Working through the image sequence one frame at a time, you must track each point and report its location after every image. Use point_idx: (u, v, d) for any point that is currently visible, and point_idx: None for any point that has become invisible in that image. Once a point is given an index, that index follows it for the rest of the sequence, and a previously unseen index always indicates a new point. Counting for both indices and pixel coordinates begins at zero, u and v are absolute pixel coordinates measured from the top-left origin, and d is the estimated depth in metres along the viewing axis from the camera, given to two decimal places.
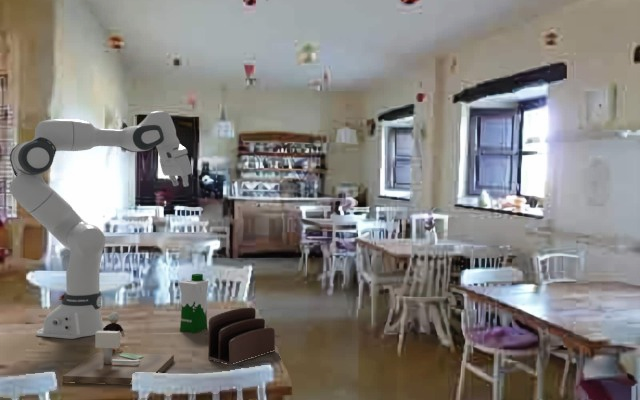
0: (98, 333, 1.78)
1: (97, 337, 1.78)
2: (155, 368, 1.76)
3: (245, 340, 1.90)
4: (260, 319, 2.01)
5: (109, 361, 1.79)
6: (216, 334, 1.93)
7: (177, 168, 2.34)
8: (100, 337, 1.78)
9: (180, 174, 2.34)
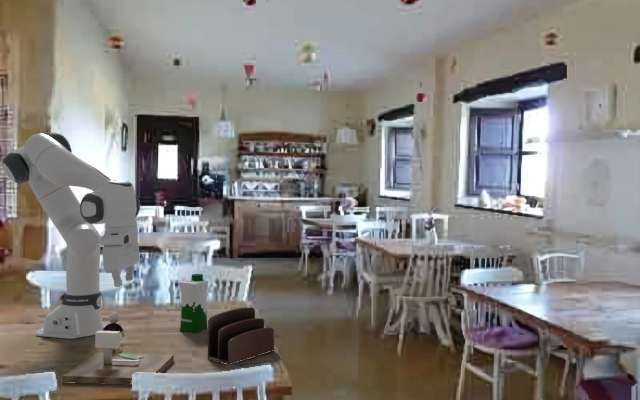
0: (98, 333, 1.78)
1: (97, 337, 1.78)
2: (155, 368, 1.76)
3: (244, 340, 1.91)
4: (259, 319, 2.02)
5: (109, 361, 1.79)
6: (215, 334, 1.93)
7: None
8: (100, 337, 1.78)
9: None
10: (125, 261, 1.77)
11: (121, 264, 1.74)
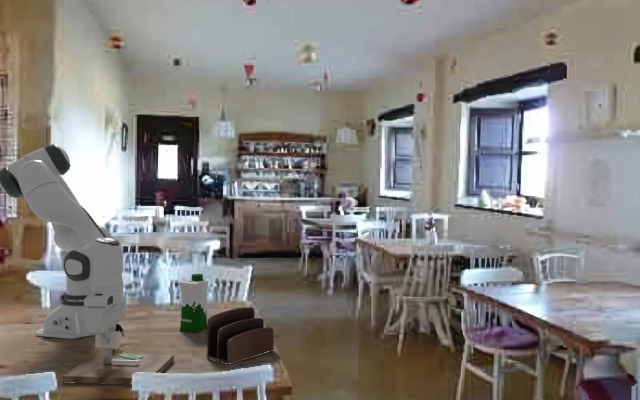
0: None
1: (97, 337, 1.78)
2: (155, 368, 1.76)
3: (244, 339, 1.91)
4: (259, 319, 2.02)
5: (109, 361, 1.79)
6: (215, 334, 1.93)
7: None
8: (100, 337, 1.78)
9: None
10: (108, 321, 1.75)
11: (104, 325, 1.72)
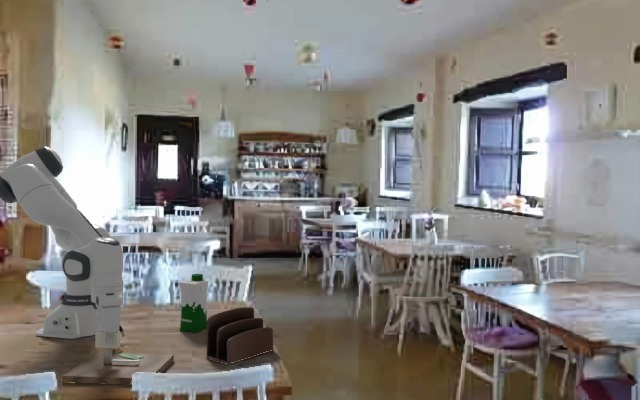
0: (98, 333, 1.78)
1: (97, 337, 1.78)
2: (155, 368, 1.76)
3: (243, 339, 1.91)
4: (258, 319, 2.02)
5: (109, 361, 1.79)
6: (214, 333, 1.94)
7: None
8: (100, 337, 1.78)
9: (104, 330, 1.72)
10: None
11: None
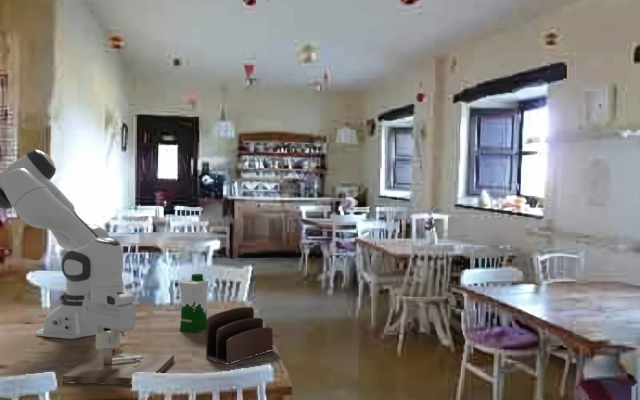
0: (99, 334, 1.77)
1: (98, 338, 1.77)
2: (155, 368, 1.76)
3: (243, 339, 1.91)
4: (258, 318, 2.02)
5: (111, 361, 1.79)
6: (214, 333, 1.94)
7: (115, 319, 1.74)
8: (102, 338, 1.78)
9: (118, 328, 1.74)
10: None
11: None
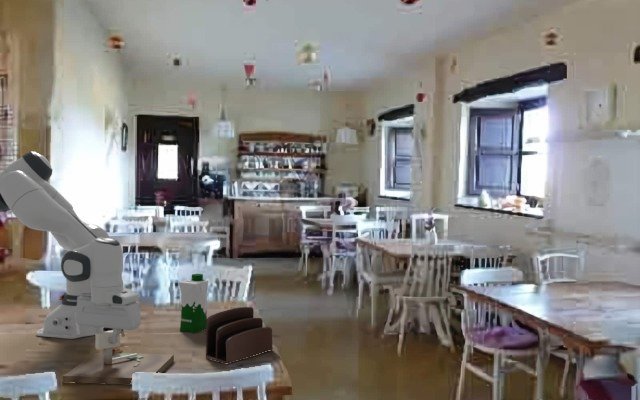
0: (101, 334, 1.77)
1: (100, 339, 1.77)
2: (155, 368, 1.76)
3: (242, 339, 1.91)
4: (258, 318, 2.02)
5: (111, 360, 1.79)
6: (214, 333, 1.94)
7: (121, 319, 1.75)
8: (103, 338, 1.77)
9: (124, 327, 1.75)
10: None
11: None
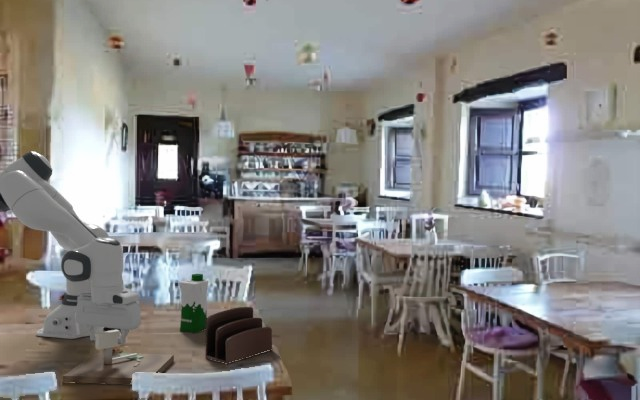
0: (101, 334, 1.77)
1: (100, 339, 1.77)
2: (155, 368, 1.76)
3: (242, 339, 1.91)
4: (257, 318, 2.02)
5: (111, 360, 1.79)
6: (213, 333, 1.94)
7: (121, 318, 1.75)
8: (104, 338, 1.77)
9: (124, 327, 1.75)
10: None
11: None
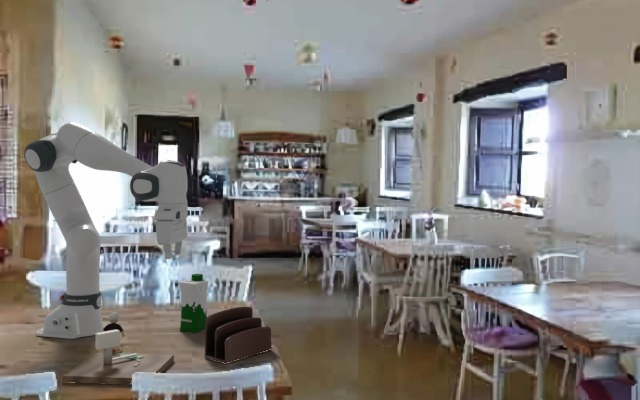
0: (101, 334, 1.77)
1: (100, 339, 1.77)
2: (155, 368, 1.76)
3: (241, 339, 1.92)
4: (257, 318, 2.03)
5: (111, 360, 1.79)
6: (213, 333, 1.94)
7: None
8: (104, 338, 1.77)
9: None
10: (175, 235, 1.90)
11: (172, 238, 1.87)
